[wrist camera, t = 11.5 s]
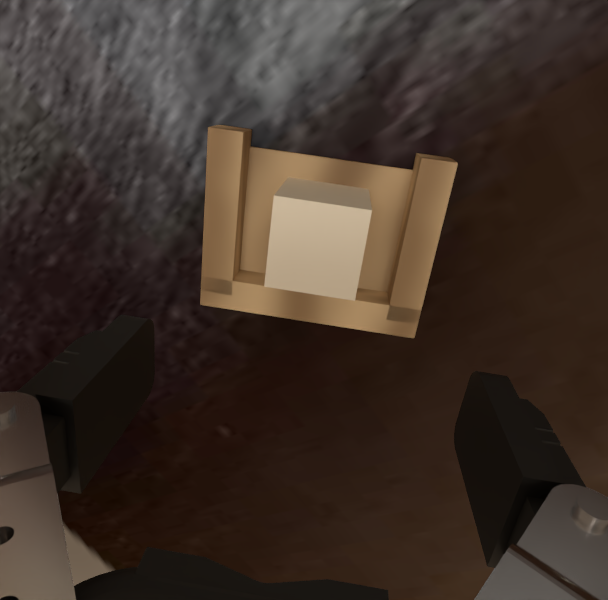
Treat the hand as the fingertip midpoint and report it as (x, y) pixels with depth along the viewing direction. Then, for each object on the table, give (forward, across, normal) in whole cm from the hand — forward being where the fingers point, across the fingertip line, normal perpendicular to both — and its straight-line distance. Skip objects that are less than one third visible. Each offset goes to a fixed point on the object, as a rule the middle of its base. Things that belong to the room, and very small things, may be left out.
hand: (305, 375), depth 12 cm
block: (+20, +1, +1) cm, 20 cm away
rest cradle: (+20, +1, +2) cm, 20 cm away
